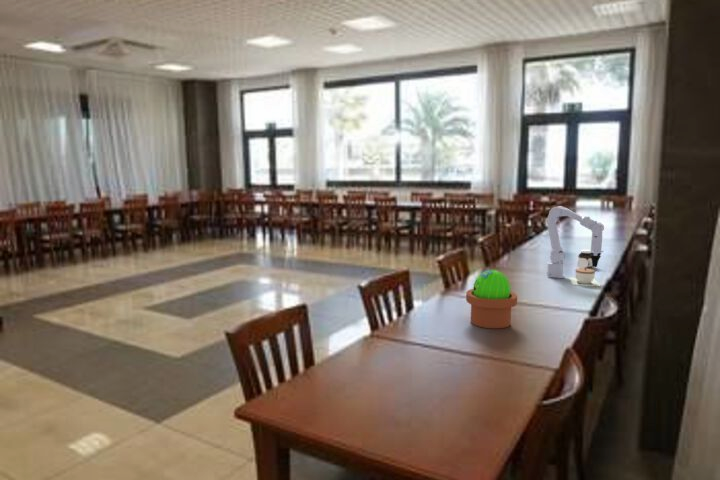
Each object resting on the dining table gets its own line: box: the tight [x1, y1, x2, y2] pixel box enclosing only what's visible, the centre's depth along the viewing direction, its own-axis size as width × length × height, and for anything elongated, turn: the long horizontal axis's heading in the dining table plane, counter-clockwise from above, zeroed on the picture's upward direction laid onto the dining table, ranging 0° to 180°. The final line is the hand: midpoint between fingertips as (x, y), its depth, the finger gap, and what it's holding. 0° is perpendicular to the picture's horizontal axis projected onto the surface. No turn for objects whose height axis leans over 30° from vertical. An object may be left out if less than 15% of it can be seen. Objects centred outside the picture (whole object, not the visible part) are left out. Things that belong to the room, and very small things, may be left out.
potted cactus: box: [465, 268, 518, 330], centre depth 237 cm, size 22×22×25 cm
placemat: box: [568, 277, 602, 287], centre depth 317 cm, size 15×19×1 cm
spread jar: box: [576, 249, 594, 269], centre depth 358 cm, size 12×11×12 cm
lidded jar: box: [574, 267, 596, 284], centre depth 313 cm, size 11×11×9 cm
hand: (594, 265), depth 316 cm, fingers open, 7 cm apart
